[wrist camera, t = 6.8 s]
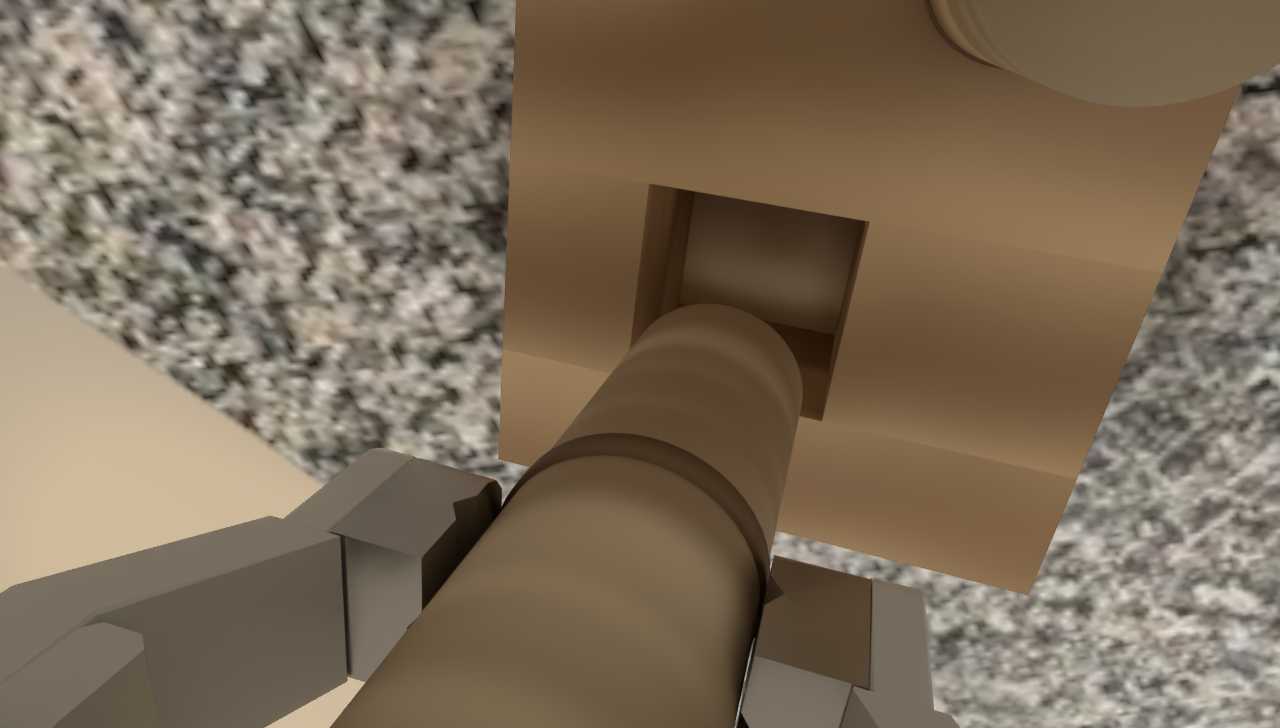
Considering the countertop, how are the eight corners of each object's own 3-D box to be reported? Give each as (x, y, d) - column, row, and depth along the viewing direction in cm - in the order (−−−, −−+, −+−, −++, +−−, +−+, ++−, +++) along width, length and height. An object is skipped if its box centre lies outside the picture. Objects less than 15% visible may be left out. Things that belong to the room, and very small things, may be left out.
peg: (635, 283, 13) (-488, 1423, 2) (824, 321, 12) (481, 2125, 2) (615, 446, 14) (-168, 1661, 4) (786, 488, 14) (451, 2114, 3)
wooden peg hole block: (641, -175, 19) (198, -534, 7) (1187, -132, 17) (2072, -567, 4) (592, 350, 25) (311, 674, 13) (988, 437, 23) (1117, 943, 10)
